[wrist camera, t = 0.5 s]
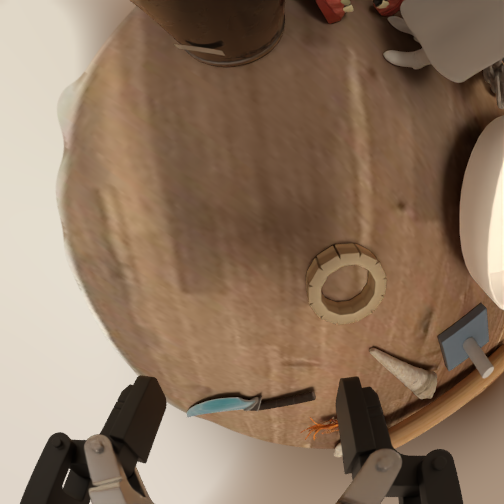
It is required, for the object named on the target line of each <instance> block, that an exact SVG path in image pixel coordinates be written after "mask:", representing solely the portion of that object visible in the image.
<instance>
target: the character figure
mask: <svg viewBox="0 0 504 504" xmlns="http://www.w3.org/2000/svg"><path fill="white" fill-rule="evenodd" d="M400 11H401V15H402V17H403V19H402V18H400V17H397V16H389V17H388V18H387V19H388V21H389V22H390V24H391V25H392V26H393V27H395V28H396V29H398V30H400V31H402V32H405V33H409V34H411V35H413V36H414V38H413V39H414V40H415V41H417V42H419V43H420V44H421V46H422V48H421V49H419V50H417V51H414V52H401V51H395V50H389V51H386V52H384V53H383V55H384V57H385V58H386V59H387V60H388V61H389V62H391V63H392V64H395V65H398V66H403V67H412V68H413V69H420V68H422V67H424V66H426V65H430V64H432V65H433V67H434V68H435V69H436V70H437V71H438V72H439V73H440V74H441V75H443V76H444V77H446V78H447V79H449V80H451V81H453V82H457V83H461V82H464V81H465V80H467V79H468V78H470V77H471V76H473V75H475V74H476V73H478V72H480V71H481V70H483V69H485V68H487V67H488V66H490V65H492V64H494V63H495V62H497V61H499V60H501V59H502V58H504V0H404V1H403V2H402V4H401V6H400Z"/></svg>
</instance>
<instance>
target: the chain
mask: <svg viewBox="0 0 504 504" xmlns="http://www.w3.org/2000/svg"><path fill="white" fill-rule="evenodd" d="M502 61H503V63H504V58H502V59H501V60H499V61H497V62H495V63H494V64H492V65H490V66H488V67H487V68H485V69H483V76H484V79H485V81H486V82H488V83H490V84H491V91H493V92H494V93H496V97H497V105H498V108H500V109H504V65H503V63H502Z"/></svg>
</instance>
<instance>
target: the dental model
mask: <svg viewBox="0 0 504 504" xmlns="http://www.w3.org/2000/svg"><path fill="white" fill-rule="evenodd" d="M403 1H404V0H374V1H373V2H374V4H373V6H374V7H375V8H376V9H377V11H378V12H379V14H381V15H382V16H388V17H389V16H392V15H394V14H395V13H397V12H398V11H399V10H400V6H401V4H402V2H403ZM315 2H316V3H317V5H318V6H319V8H320V10H321V11H322V13H323V15H324V17H325V18H326V20H327V22H328V23H329V24H331V23H334V22H337V21H340V20H341V18H342V17H343V15H344V14H345V12H352V11H354V9H353V7H352V5H350V1H349V0H315Z"/></svg>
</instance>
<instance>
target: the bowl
mask: <svg viewBox="0 0 504 504" xmlns="http://www.w3.org/2000/svg"><path fill="white" fill-rule="evenodd" d="M460 240H461V249H462V254H463V257H464V261H465V265H466V267H467V269H468V271H469V273H470V275H471V277H472V278H473V279H474V280H475V281H476V282H477V284H478V285H479V286H480V287H481V288H482V289H483V290H484V292H485V293H486V294H487V295H488V296H489V297H490V298H491V299H492V300H493V301H494V302H495V304H496V305H497V306H498V307H499V308H501V309H503V310H504V115H503V116H500V117H497V118H495V119H494V120H493V121H492V122H490V123H489V124H488V125H487V126H486V127H485V129H484V130H483V132H482V133H481V134H480V136H479V137H478V140H477V142H476V144H475V146H474V148H473V150H472V152H471V156H470V158H469V161H468V164H467V167H466V170H465V173H464V178H463V184H462V189H461V198H460Z"/></svg>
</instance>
